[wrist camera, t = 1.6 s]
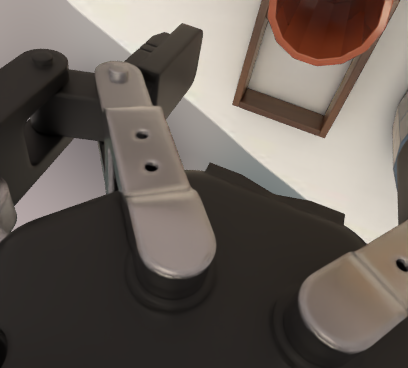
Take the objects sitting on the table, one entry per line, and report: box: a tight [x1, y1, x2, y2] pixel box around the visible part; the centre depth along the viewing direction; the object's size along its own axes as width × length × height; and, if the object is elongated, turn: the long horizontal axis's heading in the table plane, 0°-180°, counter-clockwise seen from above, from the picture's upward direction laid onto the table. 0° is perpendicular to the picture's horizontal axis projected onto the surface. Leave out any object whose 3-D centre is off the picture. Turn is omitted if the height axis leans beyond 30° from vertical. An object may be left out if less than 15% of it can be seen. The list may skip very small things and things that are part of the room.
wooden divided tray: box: [232, 0, 400, 138], centre depth 27 cm, size 16×8×2 cm, turn 169°
